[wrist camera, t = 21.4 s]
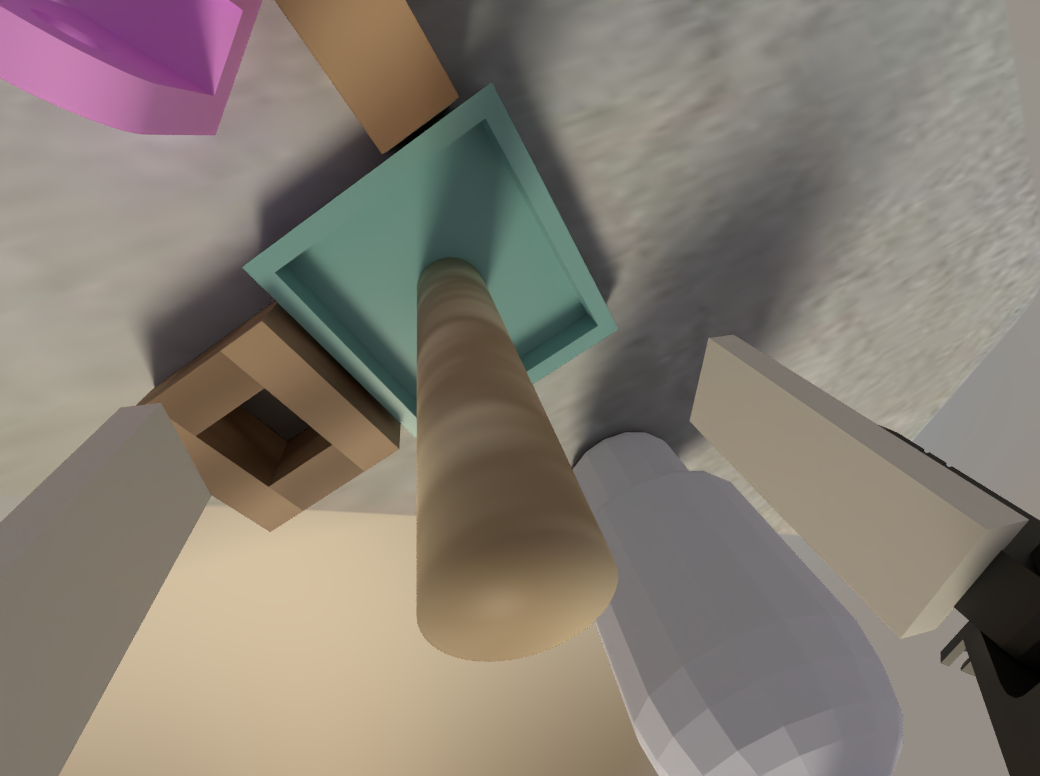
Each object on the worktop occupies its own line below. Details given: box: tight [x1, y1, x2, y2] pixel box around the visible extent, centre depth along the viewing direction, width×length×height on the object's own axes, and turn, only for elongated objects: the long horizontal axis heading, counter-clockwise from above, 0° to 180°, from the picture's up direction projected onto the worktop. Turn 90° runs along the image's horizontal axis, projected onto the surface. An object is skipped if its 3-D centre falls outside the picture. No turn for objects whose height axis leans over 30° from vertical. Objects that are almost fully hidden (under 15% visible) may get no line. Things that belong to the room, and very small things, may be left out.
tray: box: [242, 82, 618, 439], centre depth 20 cm, size 12×12×2 cm
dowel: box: [417, 257, 618, 662], centre depth 13 cm, size 3×3×16 cm
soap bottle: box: [573, 432, 904, 776], centre depth 19 cm, size 10×10×24 cm
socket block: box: [136, 300, 401, 532], centre depth 20 cm, size 8×8×4 cm
